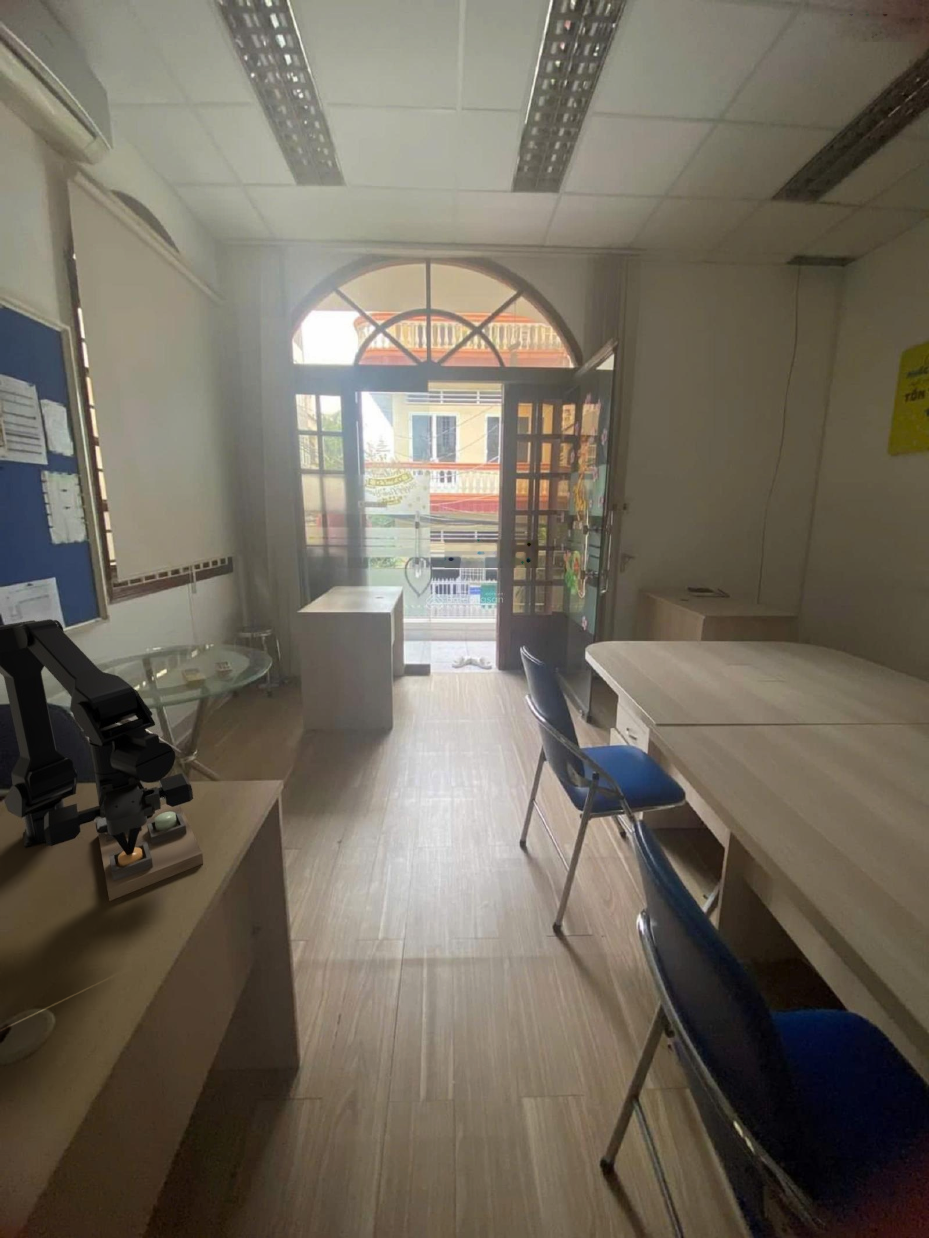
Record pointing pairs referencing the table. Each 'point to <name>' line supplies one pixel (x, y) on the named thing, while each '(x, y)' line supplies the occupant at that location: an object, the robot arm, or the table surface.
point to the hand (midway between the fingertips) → (129, 853)
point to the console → (151, 855)
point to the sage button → (165, 821)
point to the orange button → (130, 857)
